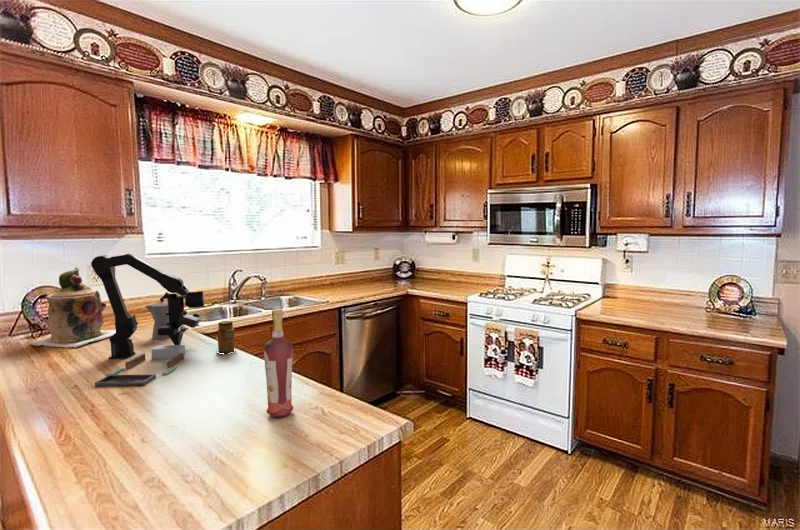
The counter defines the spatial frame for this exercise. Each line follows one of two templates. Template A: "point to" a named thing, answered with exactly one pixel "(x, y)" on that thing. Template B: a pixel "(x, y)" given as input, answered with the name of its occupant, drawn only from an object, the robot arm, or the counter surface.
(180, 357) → the brown wooden beams
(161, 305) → the coffeepot
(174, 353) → the block
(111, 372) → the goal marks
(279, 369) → the liquor
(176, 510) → the counter surface
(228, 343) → the condiment
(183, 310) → the robot arm
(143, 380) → the tray
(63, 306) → the cookie jar
